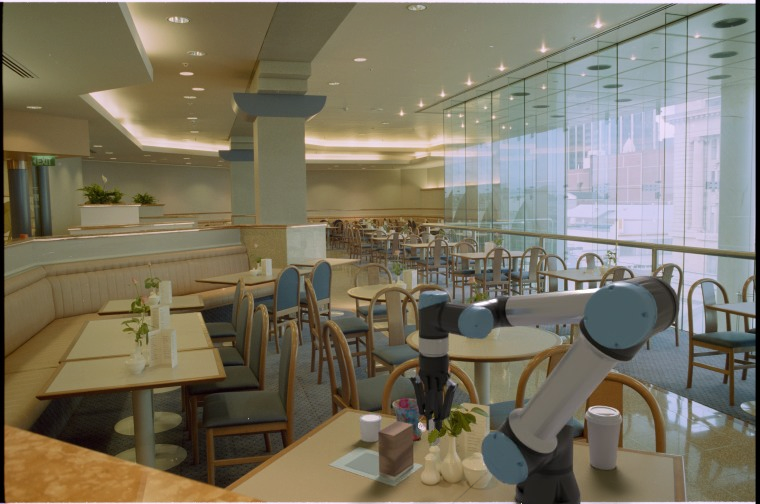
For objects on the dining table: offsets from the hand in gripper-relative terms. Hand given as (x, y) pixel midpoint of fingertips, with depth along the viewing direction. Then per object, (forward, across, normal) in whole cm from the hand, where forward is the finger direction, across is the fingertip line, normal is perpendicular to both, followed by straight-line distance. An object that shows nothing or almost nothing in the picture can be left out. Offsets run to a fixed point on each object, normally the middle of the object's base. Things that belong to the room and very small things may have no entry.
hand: (434, 443), depth 150 cm
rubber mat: (+11, +19, 0) cm, 22 cm away
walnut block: (+11, +12, 0) cm, 16 cm away
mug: (+11, +22, -23) cm, 33 cm away
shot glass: (+12, +31, -14) cm, 36 cm away
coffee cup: (+11, -32, -35) cm, 49 cm away
